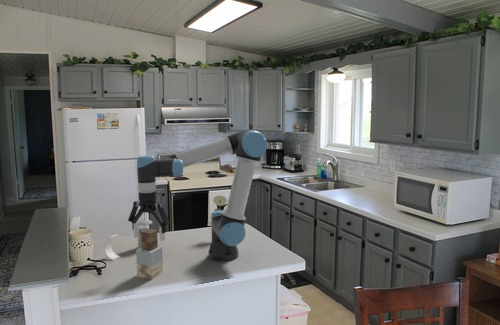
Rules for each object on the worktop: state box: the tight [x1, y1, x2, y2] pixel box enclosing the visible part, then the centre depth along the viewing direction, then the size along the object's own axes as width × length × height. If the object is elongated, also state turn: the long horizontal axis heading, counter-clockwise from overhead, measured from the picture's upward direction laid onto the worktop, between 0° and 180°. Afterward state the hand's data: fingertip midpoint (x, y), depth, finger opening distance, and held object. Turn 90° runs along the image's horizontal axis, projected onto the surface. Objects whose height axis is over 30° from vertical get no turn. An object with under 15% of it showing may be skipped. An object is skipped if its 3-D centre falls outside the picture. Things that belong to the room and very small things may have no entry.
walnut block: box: [141, 228, 159, 251], centre depth 180 cm, size 5×5×8 cm
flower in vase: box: [212, 194, 228, 212], centre depth 234 cm, size 13×11×25 cm
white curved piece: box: [102, 233, 121, 261], centre depth 201 cm, size 5×6×12 cm
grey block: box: [135, 246, 163, 266], centre depth 180 cm, size 8×8×6 cm
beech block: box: [136, 259, 164, 280], centre depth 181 cm, size 8×8×6 cm
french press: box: [135, 212, 153, 250], centre depth 216 cm, size 10×12×25 cm
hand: (149, 238), depth 180 cm, fingers open, 13 cm apart
